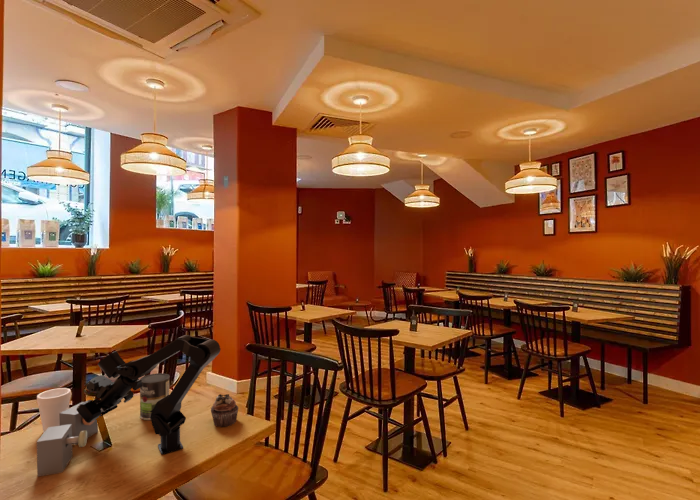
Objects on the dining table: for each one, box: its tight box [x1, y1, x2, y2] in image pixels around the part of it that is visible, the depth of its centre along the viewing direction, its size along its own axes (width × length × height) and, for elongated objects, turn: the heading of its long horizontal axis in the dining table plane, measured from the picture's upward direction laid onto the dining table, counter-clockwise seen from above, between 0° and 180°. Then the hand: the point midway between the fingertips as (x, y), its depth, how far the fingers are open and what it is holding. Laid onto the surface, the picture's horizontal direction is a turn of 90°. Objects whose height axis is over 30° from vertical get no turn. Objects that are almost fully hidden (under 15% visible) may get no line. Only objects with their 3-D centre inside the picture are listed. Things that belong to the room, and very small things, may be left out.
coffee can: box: [139, 372, 171, 421], centre depth 152 cm, size 10×10×14 cm
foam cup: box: [36, 387, 72, 433], centre depth 140 cm, size 10×9×13 cm
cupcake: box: [210, 393, 239, 428], centre depth 146 cm, size 10×10×10 cm
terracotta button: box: [82, 418, 95, 425], centre depth 134 cm, size 6×4×4 cm
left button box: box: [36, 424, 73, 477], centre depth 118 cm, size 6×9×10 cm, turn 20°
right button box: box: [59, 401, 99, 446], centre depth 135 cm, size 6×9×10 cm, turn 170°
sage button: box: [65, 430, 88, 448], centre depth 119 cm, size 6×4×4 cm
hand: (91, 417), depth 134 cm, fingers closed
